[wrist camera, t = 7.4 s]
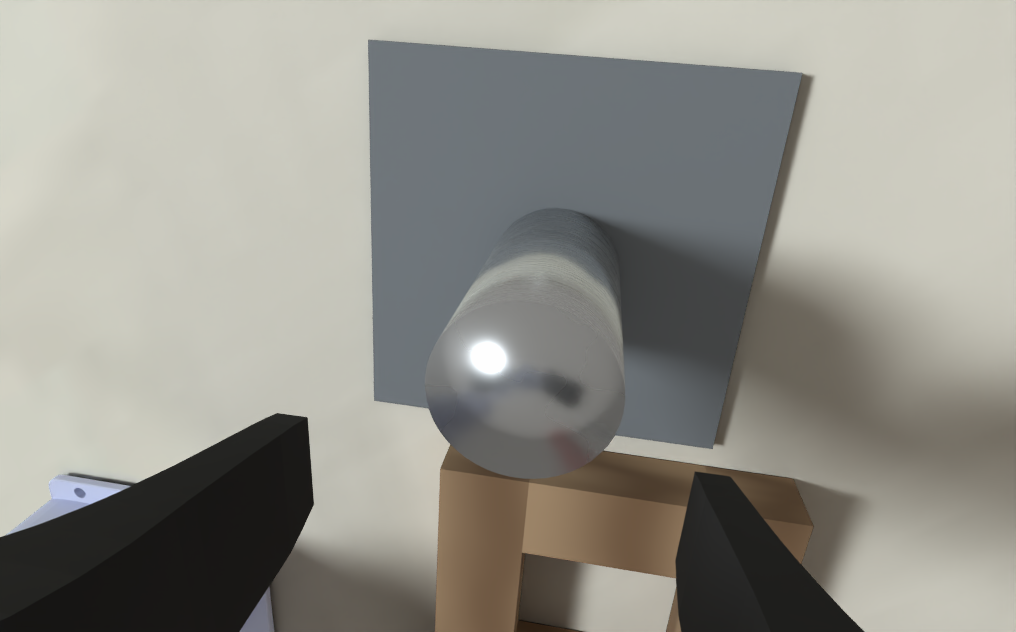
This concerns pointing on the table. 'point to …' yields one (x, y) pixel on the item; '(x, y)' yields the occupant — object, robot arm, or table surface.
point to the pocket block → (575, 528)
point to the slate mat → (576, 203)
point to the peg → (534, 351)
